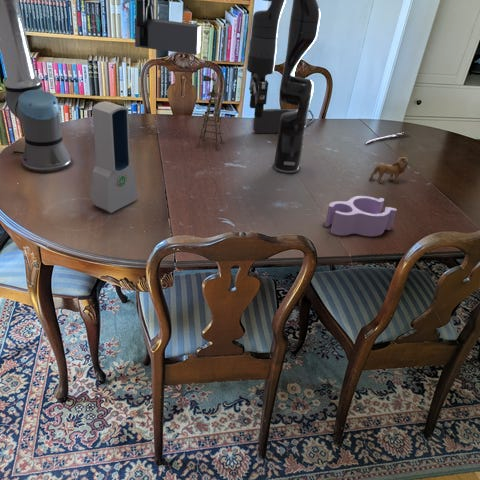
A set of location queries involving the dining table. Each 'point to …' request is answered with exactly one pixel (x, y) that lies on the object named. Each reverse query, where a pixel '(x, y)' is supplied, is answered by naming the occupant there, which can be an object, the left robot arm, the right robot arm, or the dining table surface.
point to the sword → (384, 137)
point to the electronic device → (112, 158)
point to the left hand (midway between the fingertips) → (146, 44)
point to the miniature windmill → (212, 94)
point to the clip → (359, 216)
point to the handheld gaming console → (269, 120)
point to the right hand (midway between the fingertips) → (255, 112)
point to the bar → (171, 36)
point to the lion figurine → (391, 169)
